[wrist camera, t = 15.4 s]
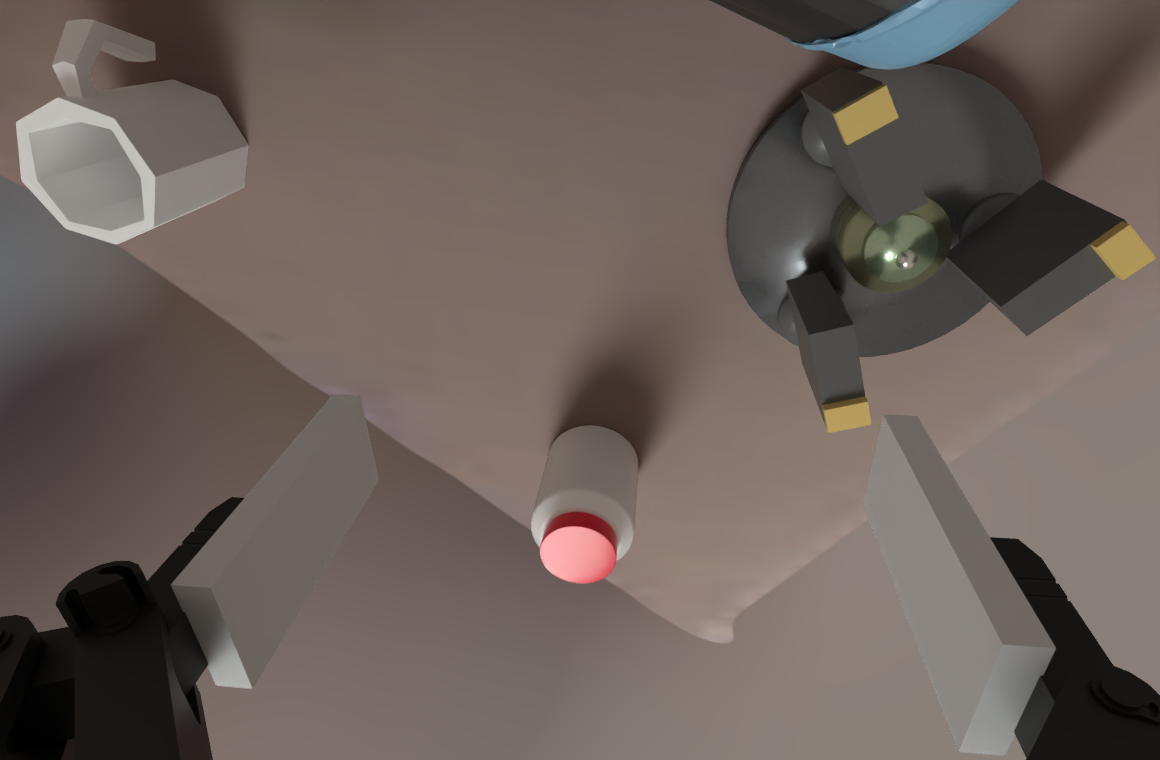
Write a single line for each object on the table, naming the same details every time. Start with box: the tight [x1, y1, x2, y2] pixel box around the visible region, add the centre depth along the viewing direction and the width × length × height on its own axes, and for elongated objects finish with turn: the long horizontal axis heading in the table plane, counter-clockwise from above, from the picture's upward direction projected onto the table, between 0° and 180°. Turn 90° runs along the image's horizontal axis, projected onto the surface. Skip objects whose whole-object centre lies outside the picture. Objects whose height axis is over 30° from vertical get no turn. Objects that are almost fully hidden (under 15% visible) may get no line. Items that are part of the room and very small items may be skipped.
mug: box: [16, 19, 249, 245], centre depth 42 cm, size 12×9×10 cm
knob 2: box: [777, 271, 871, 433], centre depth 42 cm, size 6×4×10 cm
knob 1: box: [801, 67, 928, 227], centre depth 36 cm, size 6×4×10 cm
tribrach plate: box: [726, 62, 1043, 357], centre depth 41 cm, size 19×19×7 cm
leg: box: [946, 180, 1156, 336], centre depth 38 cm, size 6×4×10 cm
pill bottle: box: [531, 425, 639, 583], centre depth 52 cm, size 8×8×11 cm
